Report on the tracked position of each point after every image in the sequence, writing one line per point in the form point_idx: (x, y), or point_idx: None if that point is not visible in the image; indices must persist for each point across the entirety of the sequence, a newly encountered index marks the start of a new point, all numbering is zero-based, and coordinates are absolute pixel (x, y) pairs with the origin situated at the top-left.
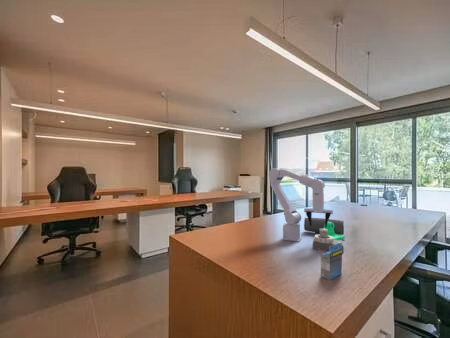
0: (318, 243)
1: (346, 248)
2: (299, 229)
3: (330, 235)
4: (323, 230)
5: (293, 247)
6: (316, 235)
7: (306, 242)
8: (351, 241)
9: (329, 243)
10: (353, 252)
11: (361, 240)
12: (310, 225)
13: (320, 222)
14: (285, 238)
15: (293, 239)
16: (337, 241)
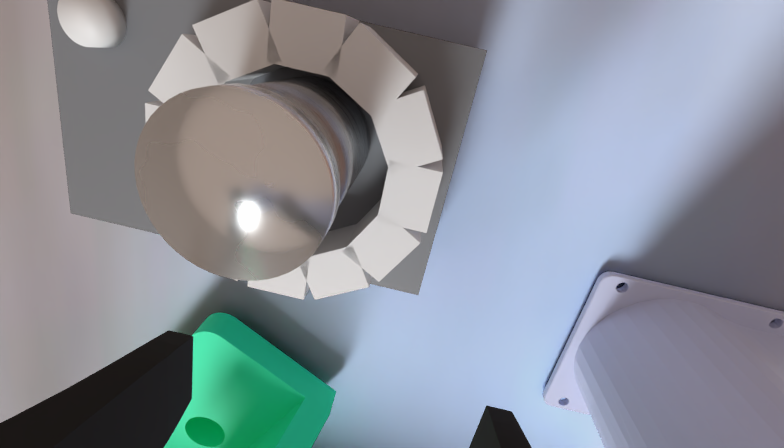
0: (400, 32)
1: None
2: (639, 443)
3: (230, 439)
4: (236, 87)
5: (755, 15)
6: (403, 219)
7: (511, 274)
8: (74, 381)
9: (235, 5)
10: (21, 21)
11: (3, 418)
12: (507, 414)
13: None
14: (772, 335)
15: (678, 302)
16: (132, 153)
